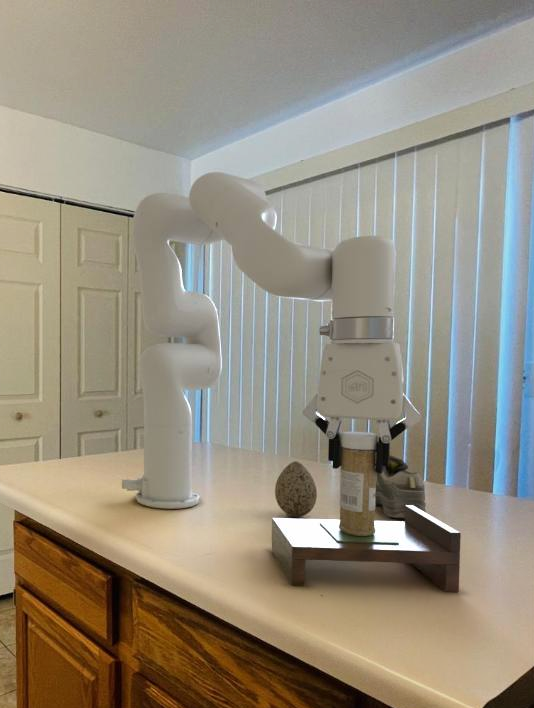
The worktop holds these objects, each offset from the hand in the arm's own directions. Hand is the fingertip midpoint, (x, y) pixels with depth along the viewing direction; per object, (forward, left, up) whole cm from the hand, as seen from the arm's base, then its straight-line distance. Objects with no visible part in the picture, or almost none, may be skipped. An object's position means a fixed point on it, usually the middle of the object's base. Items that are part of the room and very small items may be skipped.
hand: (358, 467), depth 70 cm
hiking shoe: (+18, +32, -14) cm, 39 cm away
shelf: (0, 0, -14) cm, 14 cm away
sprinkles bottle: (0, 0, -9) cm, 9 cm away
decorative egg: (-2, +24, -14) cm, 28 cm away
